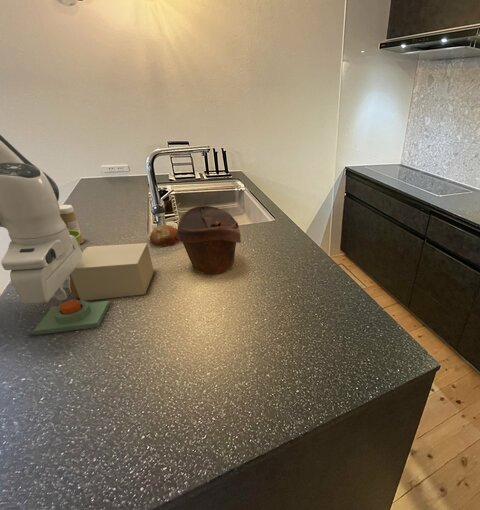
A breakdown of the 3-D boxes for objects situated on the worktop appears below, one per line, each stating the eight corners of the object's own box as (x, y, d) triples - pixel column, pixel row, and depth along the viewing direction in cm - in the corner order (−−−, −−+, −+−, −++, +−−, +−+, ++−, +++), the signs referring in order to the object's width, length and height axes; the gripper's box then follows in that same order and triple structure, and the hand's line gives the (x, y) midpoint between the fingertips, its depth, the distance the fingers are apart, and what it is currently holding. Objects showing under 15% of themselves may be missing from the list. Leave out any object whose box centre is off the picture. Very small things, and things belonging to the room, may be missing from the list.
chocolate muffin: (222, 285, 91) (215, 230, 83) (168, 270, 96) (157, 217, 88) (255, 260, 106) (252, 211, 98) (208, 248, 112) (201, 201, 103)
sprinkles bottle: (65, 243, 107) (51, 206, 100) (80, 239, 110) (67, 203, 104) (72, 246, 105) (58, 209, 99) (87, 242, 108) (75, 206, 102)
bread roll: (160, 244, 119) (146, 228, 114) (185, 232, 120) (172, 215, 115) (157, 256, 111) (141, 238, 106) (183, 243, 112) (169, 225, 107)
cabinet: (80, 301, 80) (68, 268, 75) (97, 276, 91) (87, 246, 86) (145, 294, 85) (137, 263, 80) (153, 271, 95) (147, 242, 91)
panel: (34, 335, 68) (29, 324, 67) (53, 310, 76) (49, 300, 75) (98, 326, 72) (94, 316, 71) (110, 304, 80) (107, 294, 78)
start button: (59, 315, 71) (56, 309, 70) (65, 306, 74) (63, 300, 73) (78, 313, 72) (75, 307, 71) (83, 304, 75) (81, 298, 74)
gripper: (48, 225, 72) (67, 274, 79) (-6, 267, 55) (24, 326, 62) (80, 224, 74) (96, 272, 81) (38, 264, 57) (62, 322, 64)
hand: (64, 296), depth 71 cm, fingers closed
